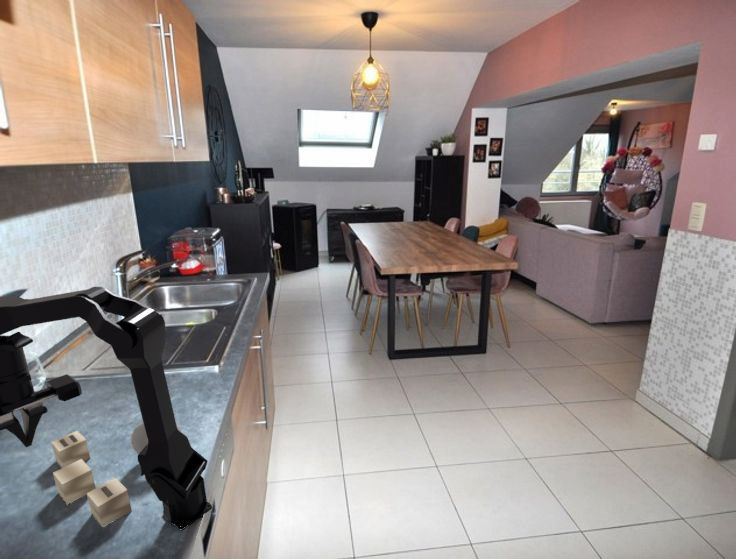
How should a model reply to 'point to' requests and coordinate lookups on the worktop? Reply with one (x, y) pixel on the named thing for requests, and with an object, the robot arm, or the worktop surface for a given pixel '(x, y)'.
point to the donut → (140, 437)
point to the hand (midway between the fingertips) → (28, 445)
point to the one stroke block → (109, 502)
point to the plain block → (74, 481)
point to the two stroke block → (70, 449)
